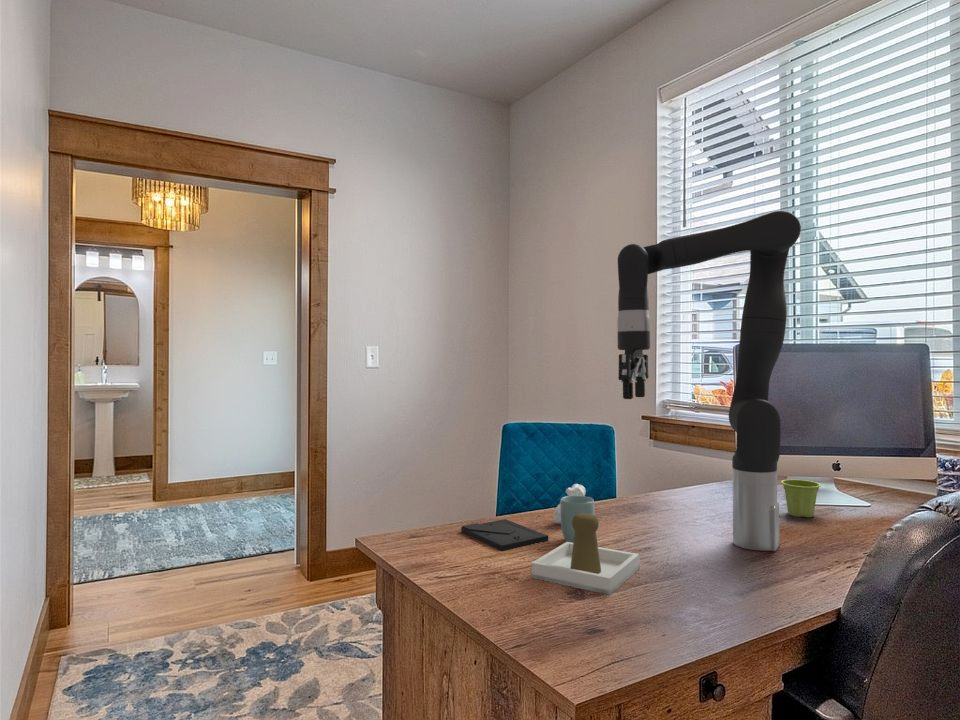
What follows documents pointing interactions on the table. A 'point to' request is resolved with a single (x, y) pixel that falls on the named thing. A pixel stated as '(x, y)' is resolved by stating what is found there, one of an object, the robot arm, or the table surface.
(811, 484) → the plant pot
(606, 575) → the tray
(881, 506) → the table surface
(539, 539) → the picture frame
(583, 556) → the olive rounded piece
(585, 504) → the cup
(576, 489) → the bust
